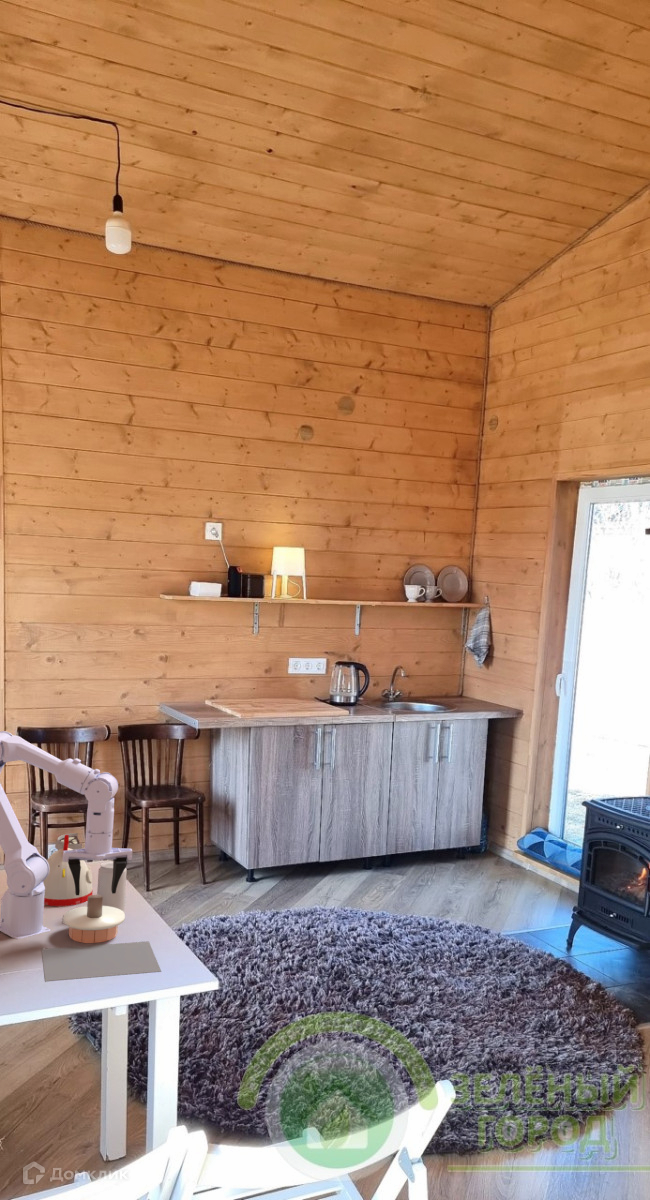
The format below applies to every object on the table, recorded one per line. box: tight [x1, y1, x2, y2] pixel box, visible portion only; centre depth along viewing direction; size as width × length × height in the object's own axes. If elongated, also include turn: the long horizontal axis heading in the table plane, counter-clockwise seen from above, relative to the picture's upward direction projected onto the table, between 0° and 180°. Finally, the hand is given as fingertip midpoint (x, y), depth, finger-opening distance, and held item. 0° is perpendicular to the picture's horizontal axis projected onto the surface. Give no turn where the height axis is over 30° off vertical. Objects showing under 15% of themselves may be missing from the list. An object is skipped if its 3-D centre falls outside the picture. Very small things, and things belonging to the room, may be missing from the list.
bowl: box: [68, 925, 119, 944], centre depth 193 cm, size 10×10×4 cm
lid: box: [62, 894, 126, 930], centre depth 193 cm, size 13×13×5 cm
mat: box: [41, 941, 162, 982], centre depth 180 cm, size 16×22×1 cm
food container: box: [54, 832, 83, 851], centre depth 233 cm, size 12×6×10 cm, turn 21°
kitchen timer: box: [43, 834, 93, 907], centre depth 218 cm, size 14×14×15 cm
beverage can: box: [96, 860, 128, 913], centre depth 207 cm, size 6×6×12 cm
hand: (95, 893), depth 193 cm, fingers open, 7 cm apart
